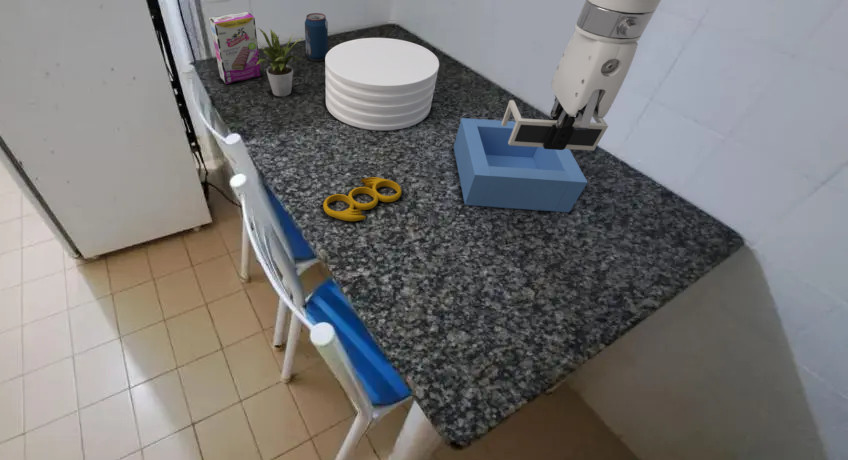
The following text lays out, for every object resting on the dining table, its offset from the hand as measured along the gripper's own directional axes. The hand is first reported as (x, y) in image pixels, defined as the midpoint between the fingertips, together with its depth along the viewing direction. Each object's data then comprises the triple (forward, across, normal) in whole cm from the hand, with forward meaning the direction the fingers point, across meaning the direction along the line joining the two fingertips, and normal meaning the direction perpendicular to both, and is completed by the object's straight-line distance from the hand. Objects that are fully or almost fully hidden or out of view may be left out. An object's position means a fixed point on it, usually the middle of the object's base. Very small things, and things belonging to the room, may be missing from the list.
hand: (551, 145), depth 62 cm
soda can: (+17, +70, +47) cm, 86 cm away
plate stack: (+17, +42, +27) cm, 53 cm away
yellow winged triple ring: (+17, +2, +29) cm, 34 cm away
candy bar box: (+17, +52, +67) cm, 87 cm away
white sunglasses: (0, +3, 0) cm, 3 cm away
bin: (+17, +13, -1) cm, 22 cm away
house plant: (+17, +46, +55) cm, 73 cm away
